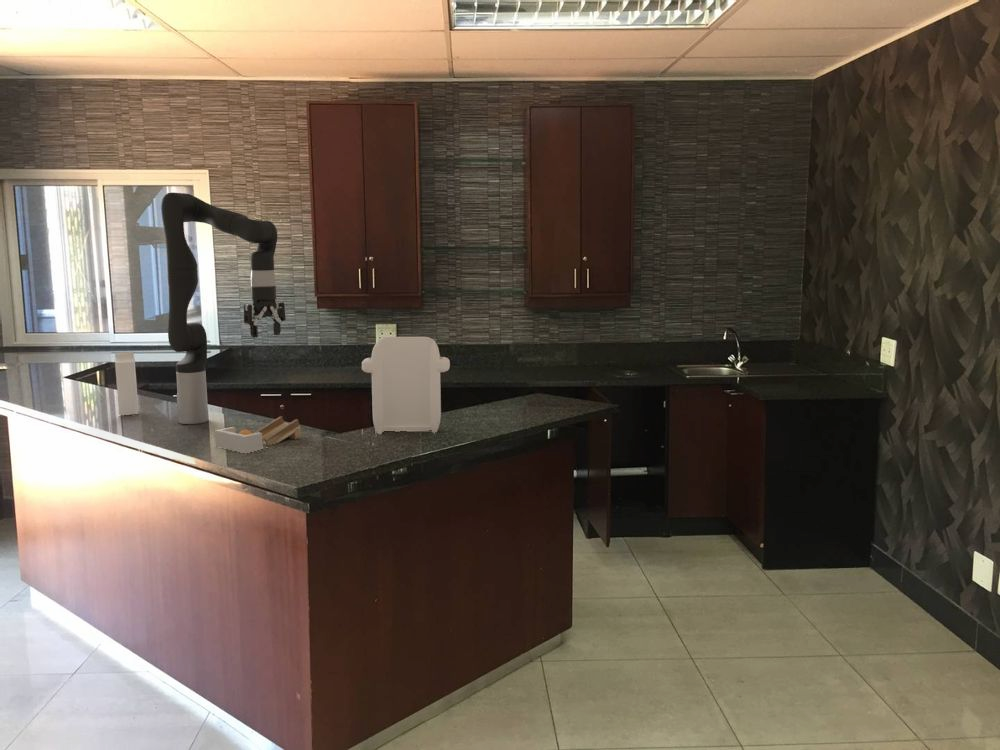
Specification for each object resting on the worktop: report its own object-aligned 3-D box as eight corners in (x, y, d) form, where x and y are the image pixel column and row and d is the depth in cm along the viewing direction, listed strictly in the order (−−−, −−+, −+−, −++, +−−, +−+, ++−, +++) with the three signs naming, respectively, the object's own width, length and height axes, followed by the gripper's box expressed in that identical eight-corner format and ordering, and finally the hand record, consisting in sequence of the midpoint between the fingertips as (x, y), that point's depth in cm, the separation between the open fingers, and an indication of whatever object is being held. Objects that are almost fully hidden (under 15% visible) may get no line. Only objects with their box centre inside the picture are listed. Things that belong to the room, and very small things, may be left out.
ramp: (249, 445, 250) (248, 423, 249) (283, 437, 260) (282, 415, 259) (266, 449, 245) (265, 426, 244) (301, 440, 255) (300, 419, 254)
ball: (231, 445, 243) (234, 428, 243) (245, 446, 247) (247, 429, 247) (242, 447, 240) (245, 430, 240) (256, 448, 244) (258, 431, 244)
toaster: (451, 426, 271) (449, 334, 266) (450, 434, 259) (448, 338, 255) (367, 427, 270) (364, 335, 265) (362, 435, 259) (359, 339, 254)
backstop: (215, 447, 244) (214, 430, 243) (233, 443, 248) (232, 426, 248) (245, 454, 235) (244, 436, 235) (262, 449, 240) (261, 432, 239)
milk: (137, 415, 290) (133, 353, 287) (118, 416, 288) (114, 353, 285) (138, 412, 296) (134, 350, 292) (120, 413, 294) (115, 351, 290)
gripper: (274, 283, 269) (276, 333, 271) (236, 285, 257) (239, 337, 260) (289, 284, 264) (291, 334, 267) (252, 286, 253) (254, 339, 255)
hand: (265, 336), depth 263 cm, fingers open, 8 cm apart
